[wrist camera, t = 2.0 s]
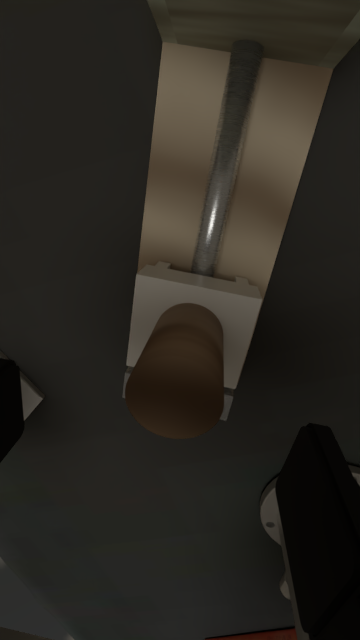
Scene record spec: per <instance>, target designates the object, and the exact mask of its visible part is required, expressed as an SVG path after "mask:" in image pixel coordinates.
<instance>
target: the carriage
mask: <svg viewBox="0 0 360 640" xmlns="http://www.w3.org/2000/svg"><path fill="white" fill-rule="evenodd" d="M170 266H171V263H166V262H161V261H159V262H158V263H157V264H156V265H155V266H152V265H146V266H145V267H144V268H143V269H141V270H140V271H139V272H138V273H137V274H136V282H135V291H134V300H133V309H132V318H131V327H130V336H129V346H128V355H127V364H126V365H127V366H132V367H134V369H133V371H132V372H131V374H130V376H129V378H128V381H127V383H126V387H125V400H126V404H127V406H128V409H129V411H130V413H131V414H132V416H133V417H134V418H135V420H136V421H137V422H138V423H139V424H141V425H142V426H143V427H144V428H146V429H147V430H149V431H151V432H153V433H155V434H157V435H160V436H163V437H167V438H173V439H186V438H192V437H196V436H199V435H202V434H204V433H206V432H207V431H209V430H210V429H211V428H212V427H214V426H215V425H216V423H217V422H218V421H219V419H220V417H221V415H222V413H223V409H224V387H228V388H232V389H236V386H237V382H238V379H239V376H240V372H241V369H242V366H243V363H244V359H245V356H246V353H247V349H248V346H249V343H250V339H251V336H252V333H253V329H254V326H255V323H256V319H257V316H258V313H259V309H260V306H261V303H262V297H261V295H260V292H259V290H258V287H257V286H252V285H249V282H248V279H247V278H242V277H237V276H235V280H234V282H232V281H227V280H222V279H217V278H212V277H207V276H202V275H197V274H192V273H187V272H182V271H177V270H172V269H170Z"/></svg>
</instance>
